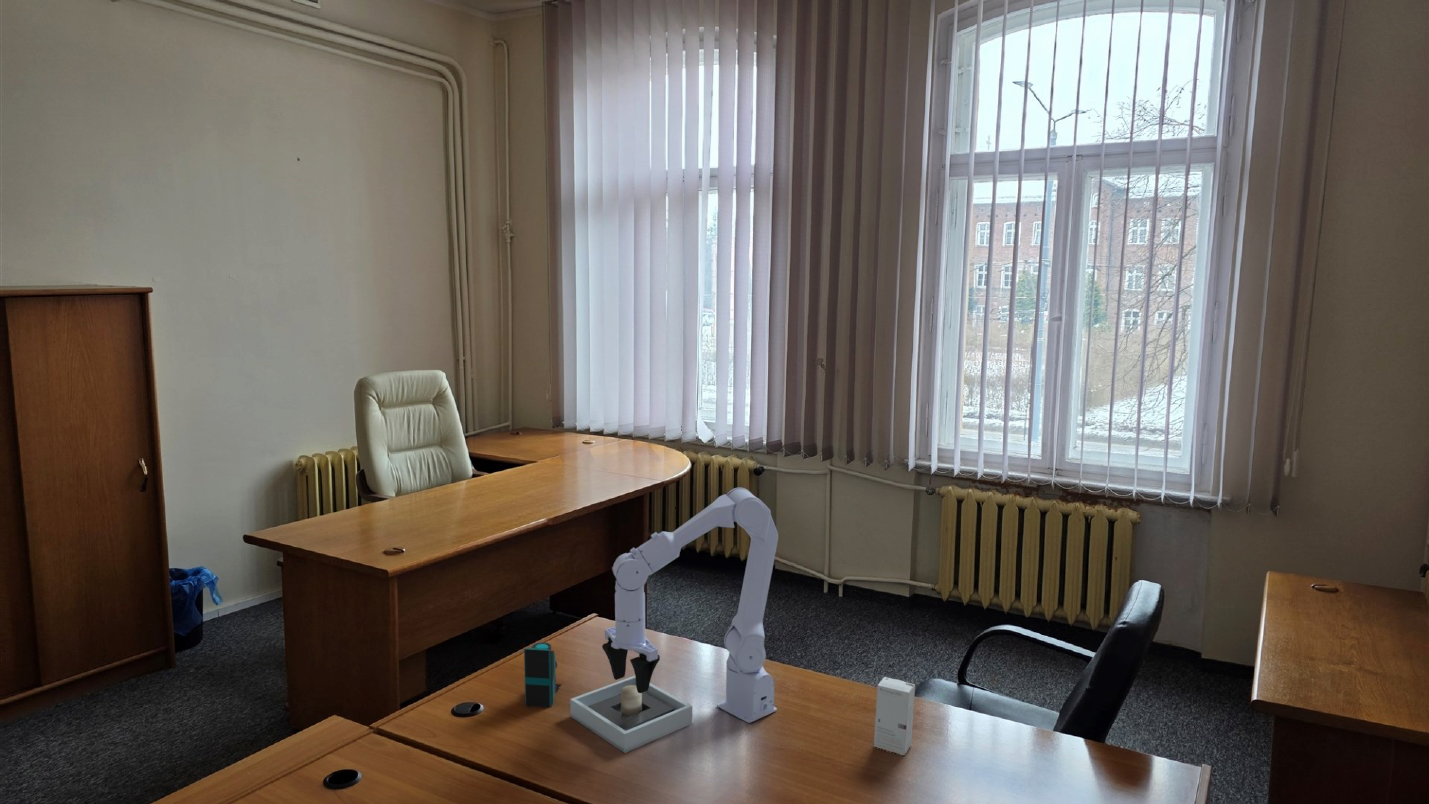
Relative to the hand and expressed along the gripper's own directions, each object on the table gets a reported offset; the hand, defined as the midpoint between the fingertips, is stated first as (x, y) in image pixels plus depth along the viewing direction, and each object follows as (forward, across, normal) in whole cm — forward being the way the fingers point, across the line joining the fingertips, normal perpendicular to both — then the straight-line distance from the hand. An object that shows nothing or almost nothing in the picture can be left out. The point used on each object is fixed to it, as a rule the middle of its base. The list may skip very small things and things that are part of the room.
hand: (630, 684), depth 161 cm
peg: (+7, 0, 0) cm, 7 cm away
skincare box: (+8, +40, +30) cm, 51 cm away
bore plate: (+7, 0, 0) cm, 7 cm away
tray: (+7, 0, 0) cm, 7 cm away
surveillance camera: (+7, -20, -7) cm, 22 cm away
